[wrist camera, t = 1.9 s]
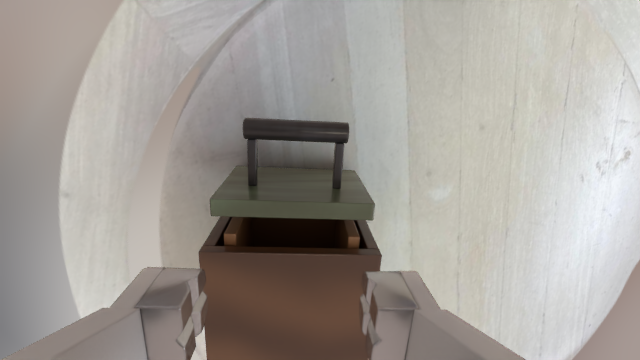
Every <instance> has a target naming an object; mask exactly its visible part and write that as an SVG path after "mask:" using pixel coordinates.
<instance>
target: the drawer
mask: <svg viewBox="0 0 640 360" xmlns="http://www.w3.org/2000/svg"><path fill="white" fill-rule="evenodd" d="M243 135H244V138H245V139H248V140H247V149H248V167H247V166H236V167H235V168H234V170H233V171H232V172H231V173H230V175H229V176H228V177H227V178H226V180H225V181H224V182H223V183H222V185H221V186H220V187H219V188H218V190H217V191H216V192H215V193H214V195H213V196H212V197H211V198H210V210H211V216H223V217H233V218H232V219H231V221H230V223H229V225H228V227H227V229H226V231H225V233H224V246H237V247H288V248H339V249H359V241H360V237H359V234H358V231H357V228H356V226H355V223H354V220H373V216H374V208H375V203H374V202H373V200H372V198H371V197H370V195H369V193H368V192H367V190H366V188H365V187H364V185H363V183H362V182H361V180H360V178H359V177H358V175H357V173H356V172H355V171H354V170H342V167H343V155H344V143H347V142H348V138H349V124H348V123H343V122H322V121H302V120H281V119H260V118H245V119H244V122H243ZM257 139H261V140H284V141H306V142H329V143H335V150H334V164H333V170H327V169H300V168H274V167H258V162H257Z"/></svg>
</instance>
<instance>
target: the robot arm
mask: <svg viewBox="0 0 640 360" xmlns="http://www.w3.org/2000/svg"><path fill="white" fill-rule="evenodd" d="M205 284H206V274H205V271H204V269H194V268H164V267H147V268H144V269H143V270H142V271H141V272H140V273H139V274H138V275H137V277H136V278H135V279H134V280H133V281H132V282H131V283H130V285H129V286H128V287H127V288H126V289H125V290H124V292H123V293H122V294H121V295H120V296H119V297H118V298H117V300H116V301H115V302H114V303H113V304H112V305H111V307H110V308H102V309H100V310H98V311H96V312H94V313H92V314H90V315H88V316H86V317H84V318H82V319H80V320H78V321H76V322H74V323H72V324H71V325H68V326H66V327H64V328H62V329H61V330H59V331H57V332H55V333H53V334H51V335H49V336H47V337H45V338H43V339H41V340H39V341H37V342H35V343H33V344H31V345H29V346H27V347H25V348H23V349H21V350H19V351H17V352H15V353H13V354H11V355H9V356H7V357H6V358H4V359H2V360H190V359H191V357H192V354H193V352H194V350H195V347H196V343H195V337H196V336H197V335H199V334H200V333H201V332H202V330H203V327H204V325H205V321H206V316H207V309H208V298H207V295H206V294H205V293H204V292H203V288H204V286H205ZM361 285H362V288H363V292H364V293H363V294H362V295H361V296H360V301H359V320H360V326H361V331H362V333H363V334H364V335H365V336H366V342H365V347H366V352H367V356H368V360H525V359H524V358H522V357H521V356H519V355H517V354H516V353H514V352H513V351H511V350H510V349H508V348H506V347H505V346H503V345H502V344H500V343H498V342H497V341H495V340H494V339H492V338H490V337H489V336H487V335H486V334H484V333H483V332H481V331H479V330H478V329H476V328H475V327H473V326H471V325H470V324H468V323H467V322H465V321H463V320H462V319H460V318H459V317H457V316H456V315H454V314H452V313H451V312H449V311H448V310H441V309H440V307H439V306H438V304H437V302H436V301H435V299H434V298H433V296H432V294H431V293H430V291H429V290H428V288H427V286H426V285H425V283H424V282H423V280H422V278H421V277H420V275H419V274H418V272H416V271H368V272H363V275H362V282H361Z"/></svg>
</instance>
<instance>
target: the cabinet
mask: <svg viewBox="0 0 640 360" xmlns="http://www.w3.org/2000/svg"><path fill="white" fill-rule="evenodd" d="M232 218H233V217H223V216H221V217H220V218H219V220H218V222H217V223H216V225H215V227H214V228H213V230H212V231H211V233H210V235H209V236H208V238H207V240H206V241H205V243H204V244H203V246H202V248H201V249H200V251H199V263H200V269H204V271H205V274H206V284H205V286H204V288H203V292H204V293H205V294H206V295H207V298H208V309H207V316H206V321H205V325H204V327H205V340H206V353H207V360H368V356H367V352H366V347H365V342H366V336H365V335H364V334H363V333H362V331H361V326H360V320H359V301H360V296H361V295H362V294H363V293H364V292H363V288H362V285H361V282H362V275H363V272H368V271H380V265H381V258H382V255H381V253H380V251H379V249H378V247H377V244H376V242H375V240H374V238H373V236H372V233H371V231H370V229H369V227H368V225H367V223H366V220H354V223H355V226H356V228H357V231H358V234H359V237H360V241H359V249H339V248H288V247H237V246H224V233H225V231H226V229H227V227H228V225H229V223H230V221H231V219H232Z"/></svg>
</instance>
